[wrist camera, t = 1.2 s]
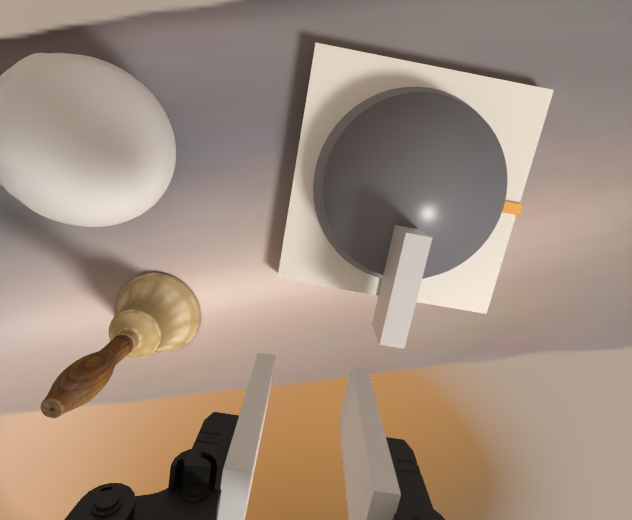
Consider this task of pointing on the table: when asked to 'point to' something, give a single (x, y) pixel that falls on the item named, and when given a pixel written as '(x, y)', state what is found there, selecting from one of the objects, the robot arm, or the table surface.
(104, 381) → the hand bell
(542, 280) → the table surface
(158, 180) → the decorative ball
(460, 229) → the dial
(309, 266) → the dial plate
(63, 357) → the table surface
